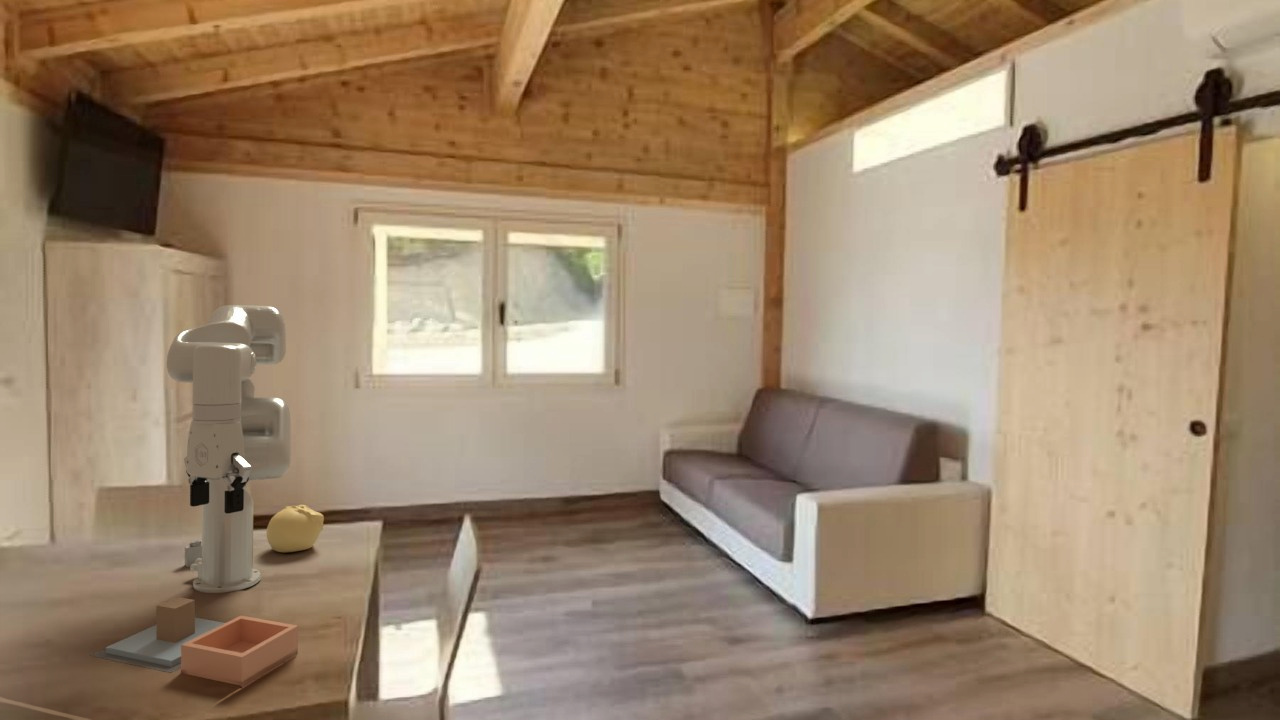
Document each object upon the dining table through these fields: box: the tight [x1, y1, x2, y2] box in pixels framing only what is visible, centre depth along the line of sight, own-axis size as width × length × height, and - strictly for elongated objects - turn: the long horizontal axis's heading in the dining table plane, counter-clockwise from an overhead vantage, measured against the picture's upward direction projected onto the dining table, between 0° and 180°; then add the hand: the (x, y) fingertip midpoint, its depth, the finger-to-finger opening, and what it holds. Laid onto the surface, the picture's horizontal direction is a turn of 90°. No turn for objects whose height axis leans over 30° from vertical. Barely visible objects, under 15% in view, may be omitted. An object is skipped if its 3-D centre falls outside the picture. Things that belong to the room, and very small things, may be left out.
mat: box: [90, 648, 181, 674], centre depth 125 cm, size 17×17×1 cm
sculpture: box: [266, 504, 325, 553], centre depth 176 cm, size 12×12×11 cm
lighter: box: [184, 539, 202, 568], centre depth 164 cm, size 7×2×8 cm, turn 141°
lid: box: [105, 596, 226, 667], centre depth 125 cm, size 14×14×7 cm
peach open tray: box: [180, 615, 299, 689], centre depth 119 cm, size 12×12×5 cm
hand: (216, 508), depth 128 cm, fingers open, 9 cm apart
